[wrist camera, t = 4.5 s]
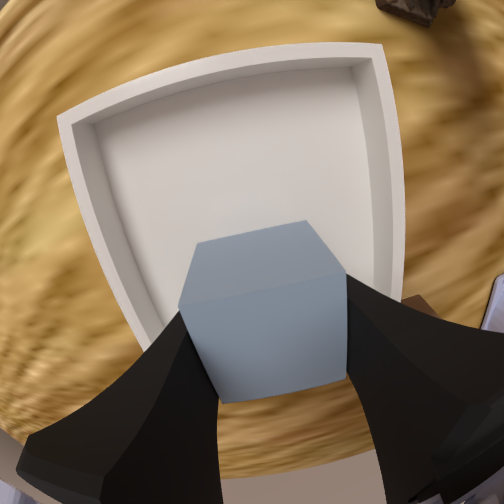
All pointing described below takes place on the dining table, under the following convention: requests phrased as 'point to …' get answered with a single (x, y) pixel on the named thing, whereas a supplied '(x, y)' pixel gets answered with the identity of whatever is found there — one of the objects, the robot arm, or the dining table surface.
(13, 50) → the dining table surface
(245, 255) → the gray block
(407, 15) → the sculpture
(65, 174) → the dining table surface
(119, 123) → the dish
